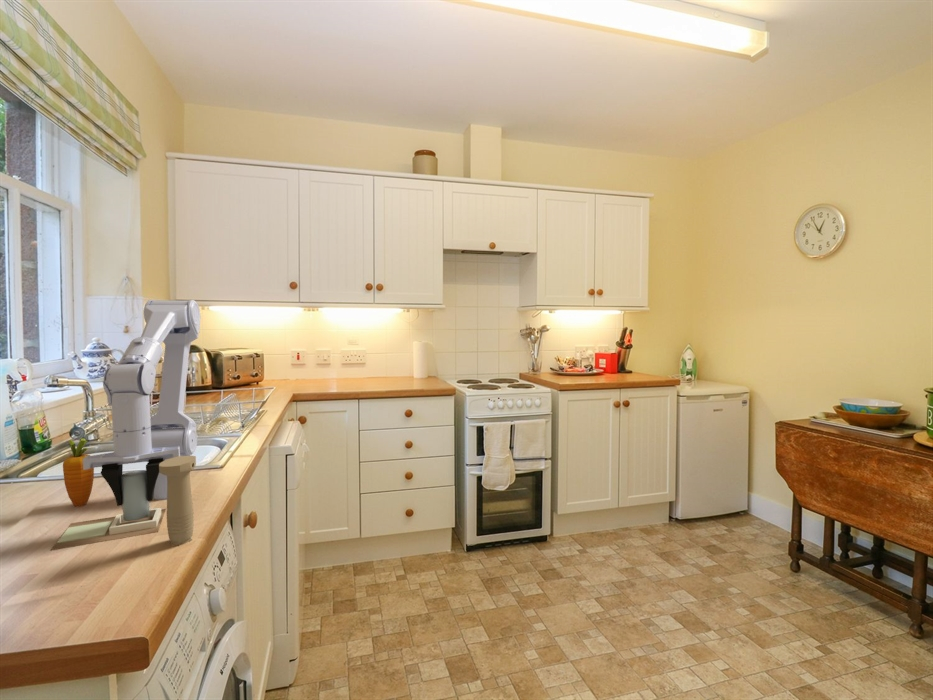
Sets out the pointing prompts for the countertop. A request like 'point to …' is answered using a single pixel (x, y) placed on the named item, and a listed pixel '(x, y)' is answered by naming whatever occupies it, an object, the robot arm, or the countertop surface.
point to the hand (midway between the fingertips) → (135, 501)
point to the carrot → (78, 475)
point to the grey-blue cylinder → (135, 495)
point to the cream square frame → (118, 528)
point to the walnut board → (107, 536)
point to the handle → (179, 498)
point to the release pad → (85, 531)
